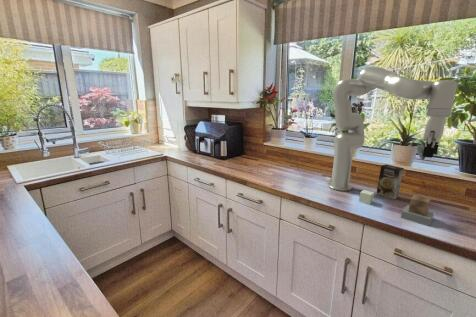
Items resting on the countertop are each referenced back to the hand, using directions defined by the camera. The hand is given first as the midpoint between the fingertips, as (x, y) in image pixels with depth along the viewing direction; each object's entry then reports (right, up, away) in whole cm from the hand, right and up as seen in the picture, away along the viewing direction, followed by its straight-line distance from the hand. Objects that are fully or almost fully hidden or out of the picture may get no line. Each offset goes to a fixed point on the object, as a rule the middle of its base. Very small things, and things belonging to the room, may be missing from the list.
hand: (429, 155), depth 104 cm
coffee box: (+1, -21, +31) cm, 38 cm away
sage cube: (-15, -23, +23) cm, 36 cm away
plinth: (0, -27, +7) cm, 28 cm away
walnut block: (0, -24, +6) cm, 25 cm away
